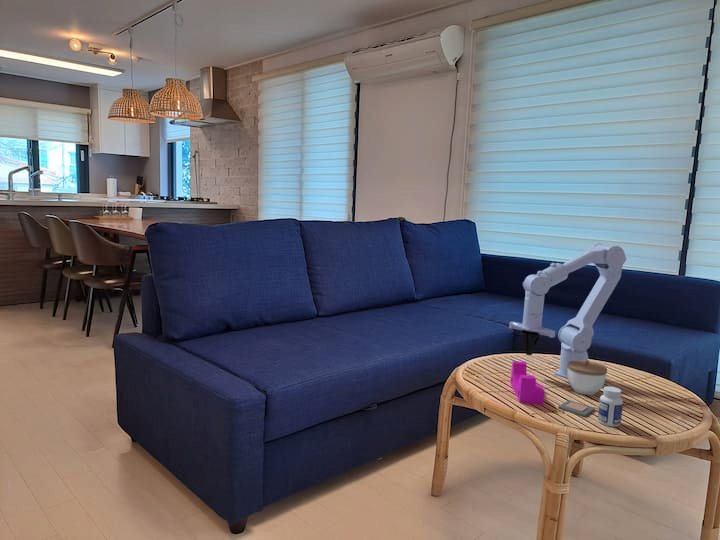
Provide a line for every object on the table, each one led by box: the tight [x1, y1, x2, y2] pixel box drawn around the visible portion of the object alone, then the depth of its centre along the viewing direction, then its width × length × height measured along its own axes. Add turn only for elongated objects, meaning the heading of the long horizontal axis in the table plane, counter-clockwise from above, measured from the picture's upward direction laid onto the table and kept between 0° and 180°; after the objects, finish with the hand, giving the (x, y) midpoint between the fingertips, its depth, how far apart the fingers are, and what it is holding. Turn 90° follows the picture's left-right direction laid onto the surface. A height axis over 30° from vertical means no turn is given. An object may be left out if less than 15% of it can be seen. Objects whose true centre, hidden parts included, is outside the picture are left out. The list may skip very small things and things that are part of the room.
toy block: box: [510, 360, 545, 406], centre depth 146 cm, size 15×6×8 cm, turn 173°
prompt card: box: [557, 399, 596, 418], centre depth 136 cm, size 7×7×1 cm
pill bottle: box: [597, 386, 624, 428], centre depth 128 cm, size 5×5×9 cm
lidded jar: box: [567, 359, 608, 396], centre depth 150 cm, size 11×11×9 cm
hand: (529, 354), depth 162 cm, fingers closed
